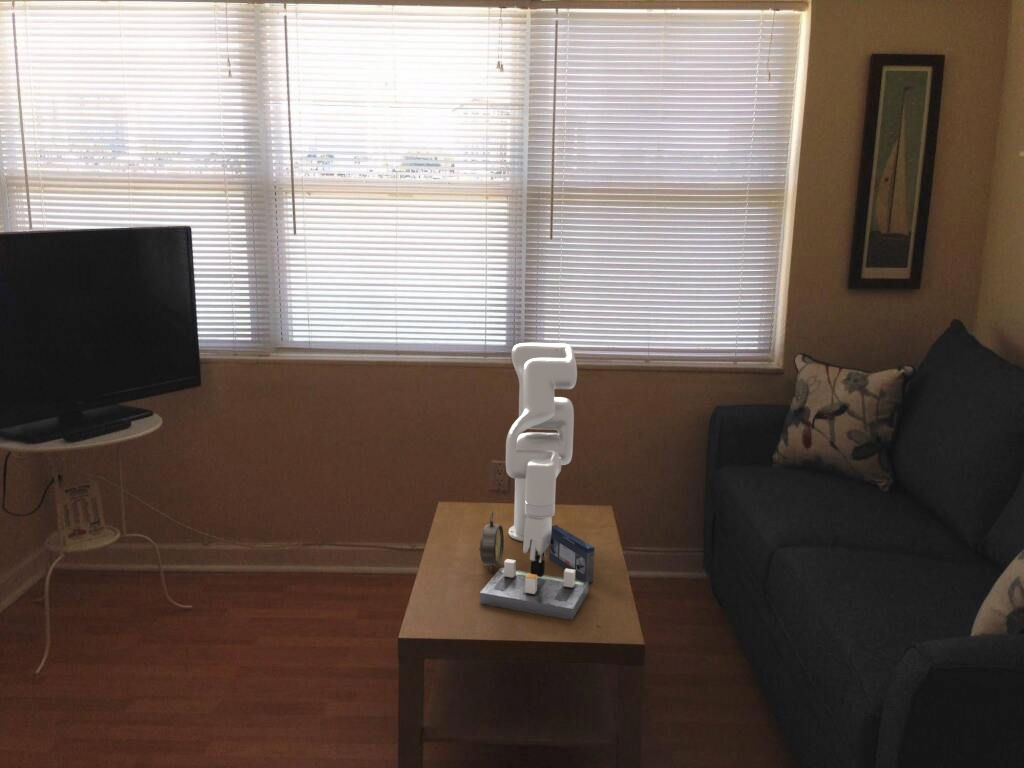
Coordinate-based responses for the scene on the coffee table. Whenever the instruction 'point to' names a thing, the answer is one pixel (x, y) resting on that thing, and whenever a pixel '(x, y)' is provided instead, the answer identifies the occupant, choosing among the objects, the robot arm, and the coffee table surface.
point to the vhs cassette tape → (572, 553)
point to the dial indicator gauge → (491, 544)
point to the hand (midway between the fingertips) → (537, 574)
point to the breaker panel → (535, 595)
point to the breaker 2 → (569, 578)
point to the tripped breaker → (531, 583)
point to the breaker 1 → (509, 568)
